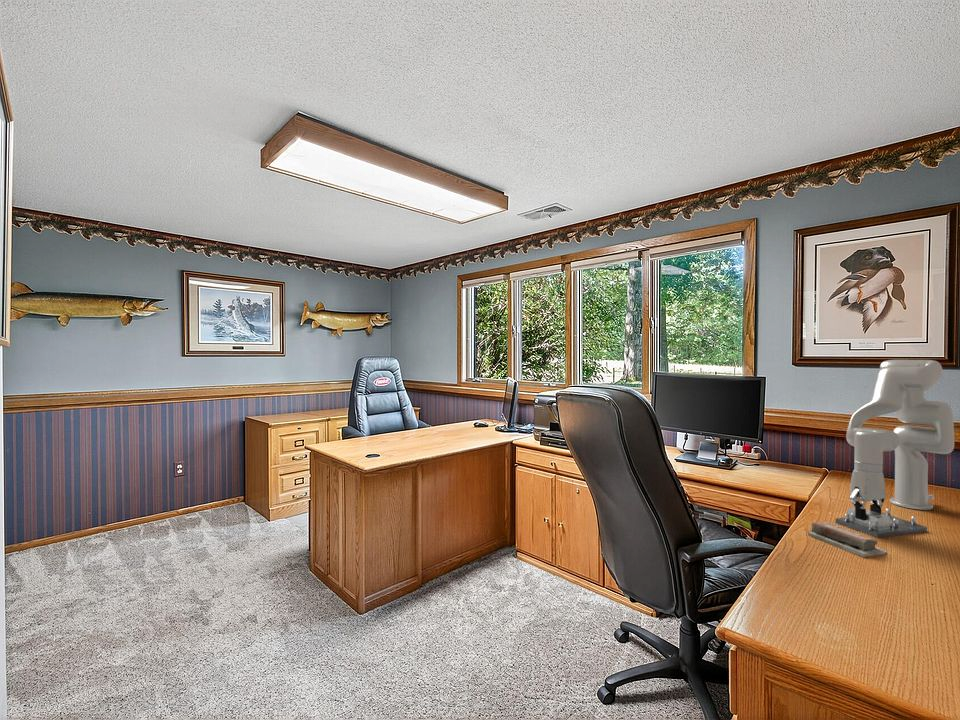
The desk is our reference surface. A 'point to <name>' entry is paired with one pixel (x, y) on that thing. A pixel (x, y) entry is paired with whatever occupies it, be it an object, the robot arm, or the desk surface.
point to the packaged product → (845, 539)
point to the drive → (871, 519)
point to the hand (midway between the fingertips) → (868, 517)
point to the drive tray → (896, 528)
